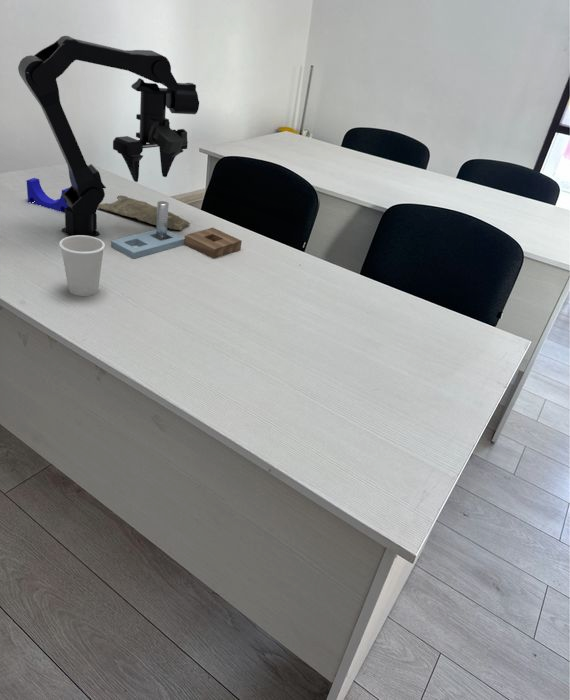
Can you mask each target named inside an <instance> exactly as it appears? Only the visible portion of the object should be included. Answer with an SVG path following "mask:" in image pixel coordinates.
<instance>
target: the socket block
mask: <svg viewBox="0 0 570 700" xmlns="http://www.w3.org/2000/svg"><path fill="white" fill-rule="evenodd" d="M184 239H185V241H184V246H187V247H188V248H190V249H193V250H195V251H197V252H199V253H201V254H203V255H205V256H207V257H210V258H212V259H216V258H220V257H223V256H226V255H229V254H233V253H235V252H238V251H241V249H242V241H243V240H241V239H239V238H237V237H234V236H232V235H230V234H229V233H226V232H223V231H221V230H219V229H217V228H214V227H210V228H209V227H208V228H206V229H202V230H198V231H194V232H191V233H187V234H185V235H184Z"/></svg>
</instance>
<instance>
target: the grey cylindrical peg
mask: <svg viewBox="0 0 570 700" xmlns="http://www.w3.org/2000/svg"><path fill="white" fill-rule="evenodd" d="M156 207H157V224H156V225H155V226H156V227H155V230H156V239H158V240H160V241H162V240H166V239H167V231H168V228H167V223H168V212H169V202H167V201H163V200H161V201H160V200H159V201H157V206H156Z"/></svg>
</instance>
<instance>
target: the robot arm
mask: <svg viewBox="0 0 570 700" xmlns="http://www.w3.org/2000/svg"><path fill="white" fill-rule="evenodd" d="M75 61H80V62H84V63H85V62H86V63H89V64H95V65H100V66H104V67H108V68H114V69H119V70H123V71H128V72H129V73H132V74H135V75H137V76H139V78H137V80H136V81H135V82H134V83H132V84H131V86H130V87H131V88H132V89H133V90H134V91H137V92H140V104H139V105H140V107H139V108H140V109H139V110H140V111H139V113H137V114H136V118H135V119H136V120H138V121H139V132H135V138H133V137H131V136H127V135H126V136H125V135H124V136H116V137H115V138H114V139H113V140H112V150H114V151H116V152H117V154H120V156H121V157H122V158H123V160H124V162H125V164H126V166H127V169H128V170H129V173H130V175H131V178H132V180H133V181H134V182H136V183H138V182H139V177H140V173H139V172H140V161H141V160H142V159H143V157H144V155H142V152H143V150H144V149H149V148H158V147H159V157H160V158H159V159H160V168H161V169H160V170H161V174H162V177H163V178H167V177H168V175H169V172H170V169H171V167H172V164H173V162H174V160H175V158H176V157H177V156H178V155H180V154H181V153H183V152H184V150H188V131H187V130H185V128H179V129H172V128H171V126H170V119H169V118H167V117H166V114H167V113H166V111H167V109H168V111H169V112H170V113H171V114H178V115H179V114H181V115H185V114H186V115H196V114H197V113H198V112H199V108H200V101H199V96H198V92H197V85H196V84H195V83H194V82H185V83H183V82H177V80H176V78H175V76H174V75H173V73H172V66H171V62H170V61H169V59H168V58H167V56H164V55H162V54H161V53H158V52H156V51H154V50H149V49H147V50H146V49H132V50H127V49H126V50H124V49H122V48H121V49H120V48H115V47H111V46H107V45H103V44H99V43H95V42H90V41H86V40H81V39H77V38H74V37H71V36H69V35H62V36H60V37H59V39H57V40H56V41H55V42H53V43H52V44H50V45H48V46H45V47H44V48H42V49H41V50H39V51H38V52H37V53H35V54H34V55H31V54H30V55H26V56H25V57H24V56H23V58H22V59H20V61H19V64H18V68H17V71H18V73H19V76H20V78H21V79H22V81H23V83H24V84H25V85H26V87H27V88H28V90H29V91H30V93H31V94H32V96H33V97H34V98H35V100H36V101H37V103H38V104H39V106H40V108H41V109H42V112H43V114H44V117H45V119H46V121H47V122H48V124H49V128H50V130H51V131H52V133H53V136H54V138H55V141H56V143H57V145H58V147H59V150H60V152H61V154H62V156H63V158H64V160H65V163H66V165H67V167H68V168H67V169H68V175H69V181H70V185H71V186H70V187H68V188H69V189H68V190H67V191H66V192H65V193H64V194H63V198H64V200H65V202H66V203H67V204H68V207H67V208H65V213H64V224H65V225H64V227H63V228H61V232H62V233H64V234H66V235H68V236H76V235H84V236H91V237H95V236H99V235H100V231H99V230H98V226H97V225H98V224H97V223H98V222H97V220H98V219H97V210H98V205H99V204H102V202H103V200H104V198H105V197H106V193H105V189H106V188H107V187H106V186H105V184H103V181H102V177H101V174H100V171H99V170H98V169H97V168H96V167H95V166H94V165H93V164H92V163H90V164H89V165H87V163H86V162H87V161H86V159H85V157H84V155H83V153H82V151H81V148H80V146H79V143H78V141H77V139H76V136H75V135H74V131H73V130H72V127H71V125H70V122H69V120H68V117H67V115H66V114H65V112H64V111H65V110H64V108H63V106H62V104H61V99H60V90H59V85H58V82H57V79H58V78H59V77H60V76H61V75H62V74H64V73H65V72H66V71H67V69H68V68H69V67H70V66H71V65H72V64H73V63H74V62H75ZM140 77H141V78H140ZM142 78H144V79H147V80H149V81H151V82H145V81H144V79H142ZM153 82H154V83H153ZM158 84H160V85H162V86H164V87H166V88H164V87H160V86H159V85H158ZM166 108H167V109H166ZM136 138H138V139H136Z"/></svg>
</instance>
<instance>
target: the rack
mask: <svg viewBox="0 0 570 700" xmlns="http://www.w3.org/2000/svg"><path fill="white" fill-rule="evenodd" d="M184 241H185V237H182V236H180V235H178V234H176V233H174V232H171V231H169V230H167V239H166V240H162V241H160V240H158V239H156V229H154V230H149V231H145V232H141V233H136V234H133V235H129V236H124V237H122V238H117V239H113V240H111V241H110V247H111V248H113V249H115V250H117V251H118V252H121V253H122V254H124V255H126V256H127V257H130V258H131V259H137V258H142V257H145V256H149V255H151V254H152V255H153V254H155V253H159V252H162V251H166V250H169V249H172V248H177V247H180V246H183V245H184ZM136 245H137V246H138V247H137V246H136ZM134 246H136V247H134ZM184 246H185V245H184Z"/></svg>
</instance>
